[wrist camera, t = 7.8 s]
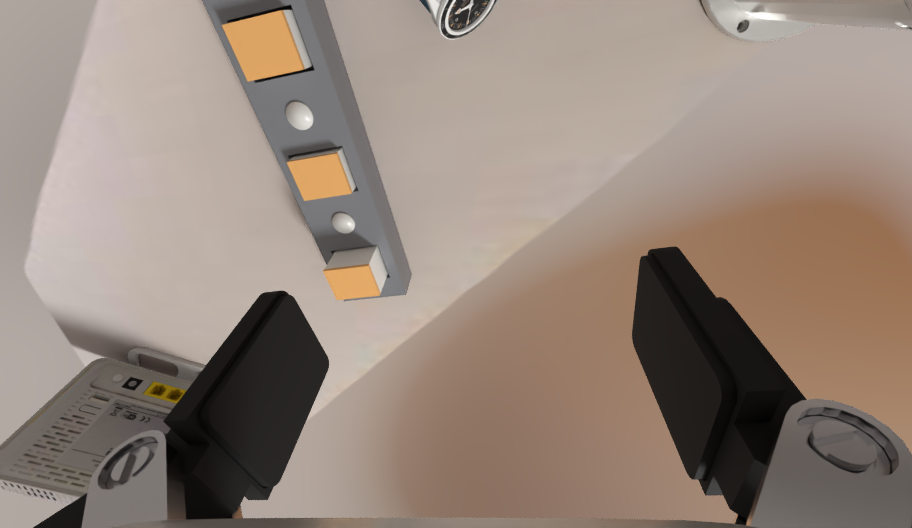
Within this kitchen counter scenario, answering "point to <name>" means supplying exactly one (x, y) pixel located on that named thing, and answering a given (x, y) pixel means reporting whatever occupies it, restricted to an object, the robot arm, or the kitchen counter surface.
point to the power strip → (321, 134)
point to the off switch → (356, 272)
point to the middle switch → (322, 173)
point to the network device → (90, 424)
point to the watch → (458, 15)
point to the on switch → (268, 45)
